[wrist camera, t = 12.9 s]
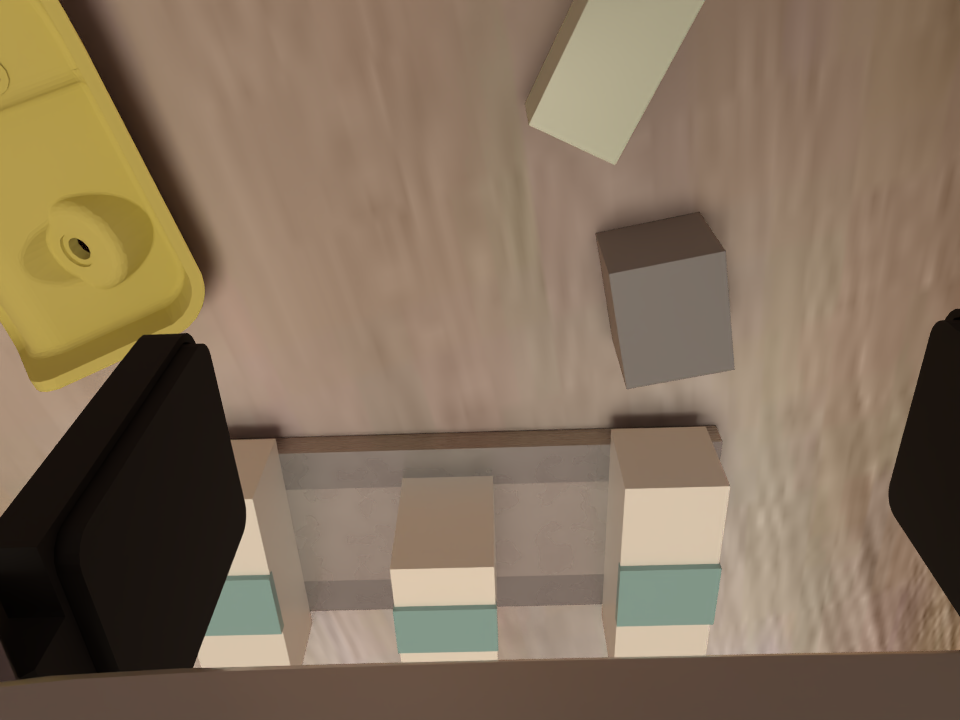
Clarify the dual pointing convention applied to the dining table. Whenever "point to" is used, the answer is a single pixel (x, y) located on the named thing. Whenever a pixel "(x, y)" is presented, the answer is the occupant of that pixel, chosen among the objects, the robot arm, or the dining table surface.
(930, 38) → the dining table surface
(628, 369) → the block
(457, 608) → the block
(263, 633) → the block
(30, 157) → the plastic component
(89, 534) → the robot arm
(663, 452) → the mounted module
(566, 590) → the rail
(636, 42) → the block
